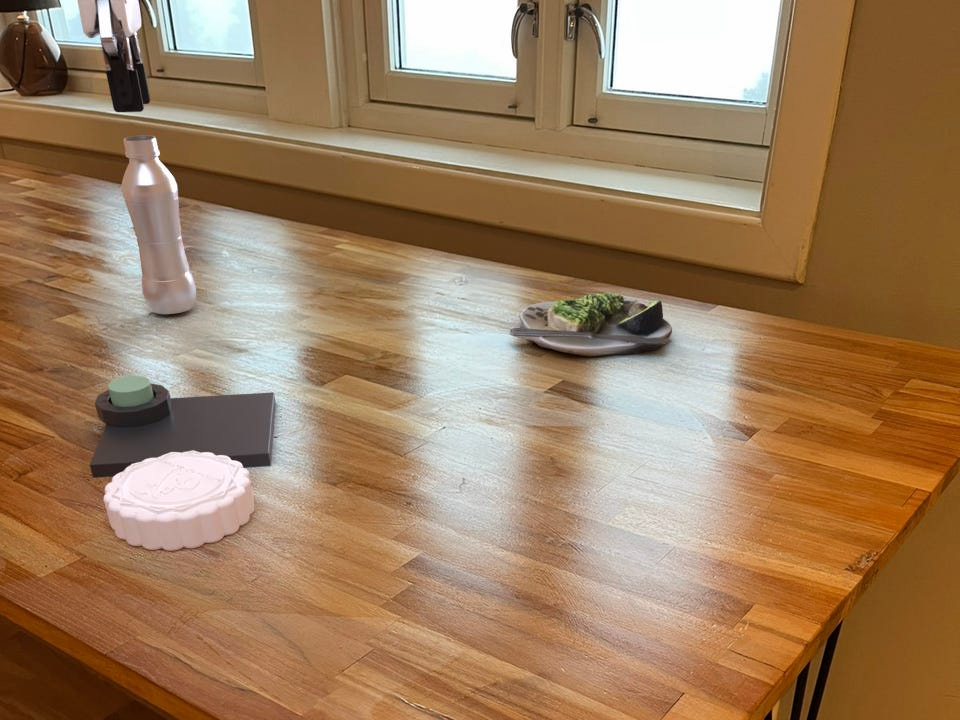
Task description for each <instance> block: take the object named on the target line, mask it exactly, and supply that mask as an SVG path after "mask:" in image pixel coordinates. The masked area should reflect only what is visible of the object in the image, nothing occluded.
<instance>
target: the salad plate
mask: <svg viewBox="0 0 960 720" xmlns="http://www.w3.org/2000/svg"><path fill="white" fill-rule="evenodd" d="M518 317H519V320H520V322H521V324H522V327H513V328H511V329H510V330H509V335H510V336H512V337H516V338H519V339H523V340H528V341H531V342H533V343H535V344H537V346H538V347H541V348H544V349H548V350H552V351H556V352H560V353H563V354H570V355H575V356H580V357H600V356H602V357H603V356H613V355H628V354H630V355H631V354H632V355H633V354H638V353H647V352H651V351H655V350H657V349H659V348H661V347H662V346H663V345H665V344H668V343H672V340H671V339H670V336H672V334H673V328H672V325H671V324H670V323H669V321H667V320H666V319H665V318H664V310H663V303H662V301H661V300H660V299H655V300H654V301H652V302H649V303H648V305H647V303H645V302H643V301H641V300H639V299H638V298H637V299H636V298H633V297H628V296H623V295H621V294H618V295H617V294H616V293H613V294H612V293H597V292H596V293H595V294H594V295H593V294H591V293H590V294H589V295H584V296H583V297H581V298H572V299H568V300H567V299H559V300H553V301H545V302H536V303H533V304H531V305H529V306H527V307H526V308H524V309H523V310H522V311H521V313H520V314H519V315H518Z"/></svg>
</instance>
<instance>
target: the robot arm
mask: <svg viewBox="0 0 960 720" xmlns="http://www.w3.org/2000/svg"><path fill="white" fill-rule="evenodd" d="M77 5H78V11H79V16H80V22H81V27H82V31H83V34H84V35H85V36H86V37H87V38H89V39H95V38H96V37H98V36H99V38H100V45H101V49H102V56H103V61H104V68H105V74H106V79H107V83H108V89H109V93H110V97H111V103H112V108H113V110H114V112H116V113H141V112H143V111H144V110H145V105H148V104H150V102H151V96H150V90H149V84H148V80H147V74H146V69H145V65H144V63H143V57H142V52H141V47H140V44H139V40H138V34H137V32H138V31H139V30H140V29H141V27H142V15H141V7H140V2H139V0H77Z"/></svg>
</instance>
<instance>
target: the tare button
mask: <svg viewBox="0 0 960 720" xmlns="http://www.w3.org/2000/svg"><path fill="white" fill-rule="evenodd" d="M151 384H152V382H151V380H150V379H149V378H148V377H146V376H141V375H129V376H128V375H127V376H123V377H118V378H116V379H113V380H112V381H110V382H109V383H108V385H107V390H109V393H110V397H111V401H112V404H113V405H115V406H120V407H130V406H138V405H141V404H145V403H148V402H150V401H151V400H153V399H154V396H153V391H152V387H151Z"/></svg>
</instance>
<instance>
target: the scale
mask: <svg viewBox="0 0 960 720" xmlns="http://www.w3.org/2000/svg"><path fill="white" fill-rule="evenodd" d="M151 387H152V391H153V396H154V399H153V400H151V401H150V402H148V403H145V404H141V405H138V406H130V407H120V406H115V405H113V404H112V401H111V397H110V393H109V390H108V389H106V390H105V391H103V392H101V393H99V394H98V395H97V396H96V399H95V401H94V405H95V409H96V413H97V417H98V419H99V420H100V421H102V422H103V424H105V427H104V428H103V431H102V433H101V436H100V438H99V441H98V443H97V446H96V448H95V451H94V453H93V455H92V458H91V460H90V463H89V468H90V471H91V474H92V478H93V479H95V478H111V477H112V478H113V477H114V476H115V475H116V474H118V473H120V472H123V471H124V470H125V469H126V468H127V467H128V466H131V464H134V463H138V462H142V461H143V460H145V459H148V458H158V457H160V456H162V455H165V454H168V453H170V452H179V453H183V452H188V451H193V450H194V451H197V452H200V453H203V452H210V453H213V454H215V455H216V456H217V455H225V456H228V457H229V458H230V459H231V460H234V461H238V462H240V463H241V464H242V465H243V468H244V469H247V468H262V467H271V465H272V457H273V456H272V454H273V445H274V444H273V443H274V431H275V420H276V408H277V402H276V396H275V395H276V394H275V392H273V391H272V392H271V391H270V392H258V393H257V392H255V393H254V392H253V393H238V394H220V395H219V394H218V395H205V396H204V395H203V396H186V397H171V394H170V391H169V389H167V388H166V387H164V386H163V385H161V384H158V383H157V384H156V383H151Z"/></svg>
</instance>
